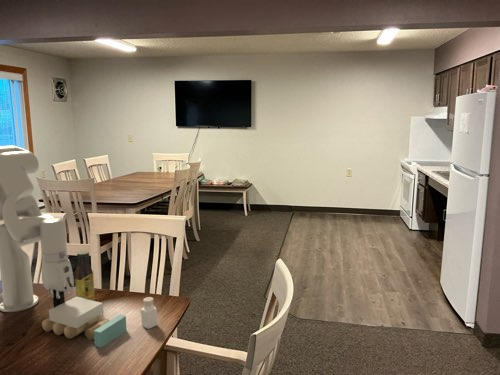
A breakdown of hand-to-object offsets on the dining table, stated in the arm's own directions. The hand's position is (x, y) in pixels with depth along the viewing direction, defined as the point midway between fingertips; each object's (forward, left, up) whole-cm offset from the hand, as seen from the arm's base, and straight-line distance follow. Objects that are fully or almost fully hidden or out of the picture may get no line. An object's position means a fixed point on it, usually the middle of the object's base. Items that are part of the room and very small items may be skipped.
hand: (59, 307), depth 133 cm
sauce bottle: (-3, +14, -6) cm, 16 cm away
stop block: (+22, 0, -6) cm, 23 cm away
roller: (+17, 0, -6) cm, 18 cm away
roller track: (+10, 0, -5) cm, 11 cm away
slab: (+8, 0, -2) cm, 8 cm away
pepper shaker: (+29, +11, -6) cm, 31 cm away
